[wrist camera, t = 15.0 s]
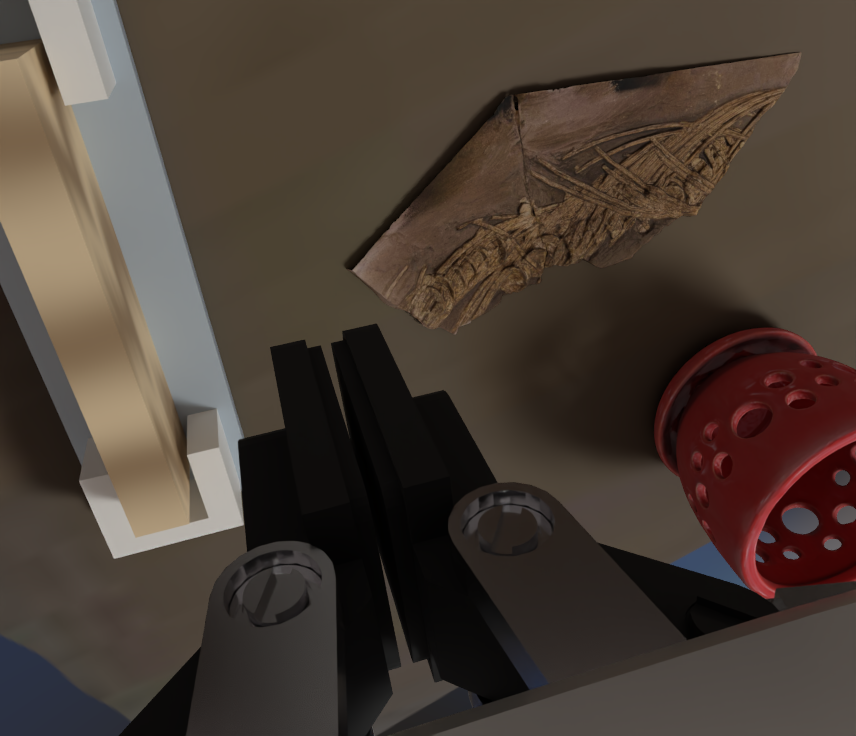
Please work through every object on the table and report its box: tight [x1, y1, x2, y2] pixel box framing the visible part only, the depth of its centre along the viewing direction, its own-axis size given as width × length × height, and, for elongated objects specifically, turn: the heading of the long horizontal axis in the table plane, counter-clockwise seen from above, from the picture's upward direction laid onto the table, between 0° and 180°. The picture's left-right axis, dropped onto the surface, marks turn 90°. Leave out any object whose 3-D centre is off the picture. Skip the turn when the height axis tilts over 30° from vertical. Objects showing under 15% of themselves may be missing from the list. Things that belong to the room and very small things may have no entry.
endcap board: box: [0, 0, 244, 559], centre depth 33 cm, size 27×8×4 cm, turn 6°
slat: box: [0, 38, 190, 538], centre depth 31 cm, size 20×2×6 cm, turn 6°
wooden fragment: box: [347, 52, 801, 334], centre depth 39 cm, size 26×11×1 cm, turn 109°
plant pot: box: [654, 328, 856, 599], centre depth 44 cm, size 13×13×12 cm
